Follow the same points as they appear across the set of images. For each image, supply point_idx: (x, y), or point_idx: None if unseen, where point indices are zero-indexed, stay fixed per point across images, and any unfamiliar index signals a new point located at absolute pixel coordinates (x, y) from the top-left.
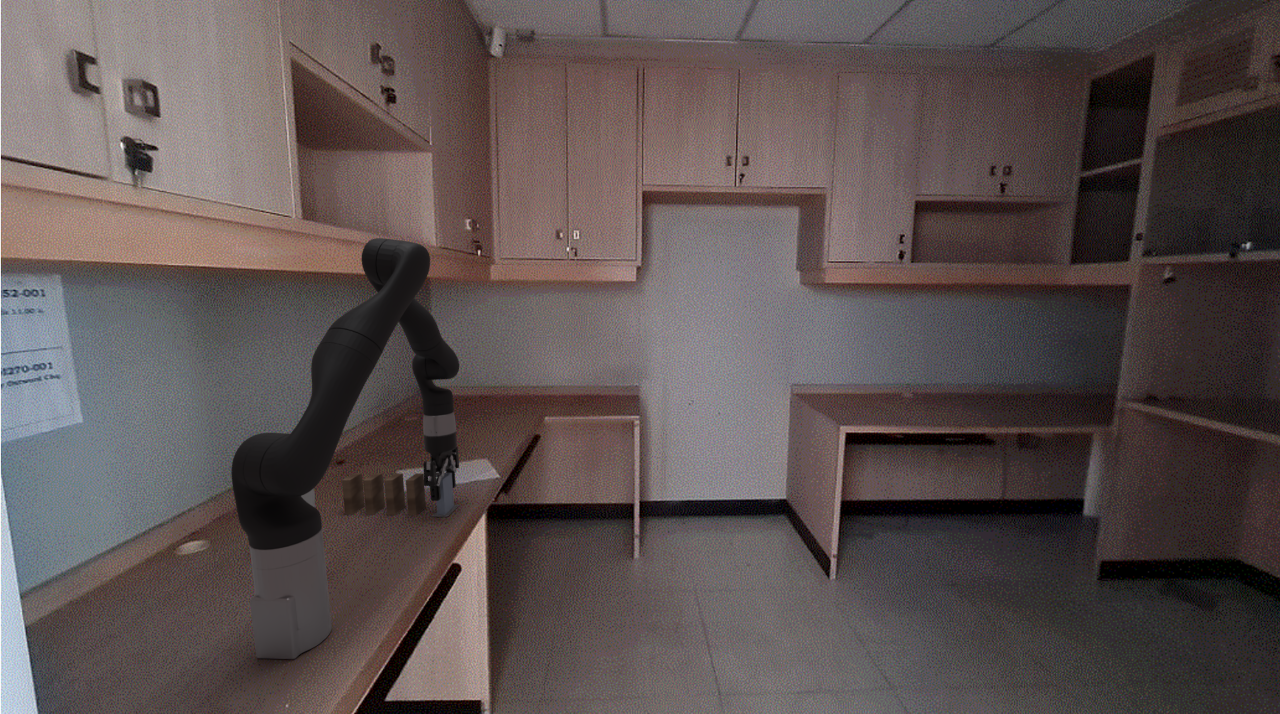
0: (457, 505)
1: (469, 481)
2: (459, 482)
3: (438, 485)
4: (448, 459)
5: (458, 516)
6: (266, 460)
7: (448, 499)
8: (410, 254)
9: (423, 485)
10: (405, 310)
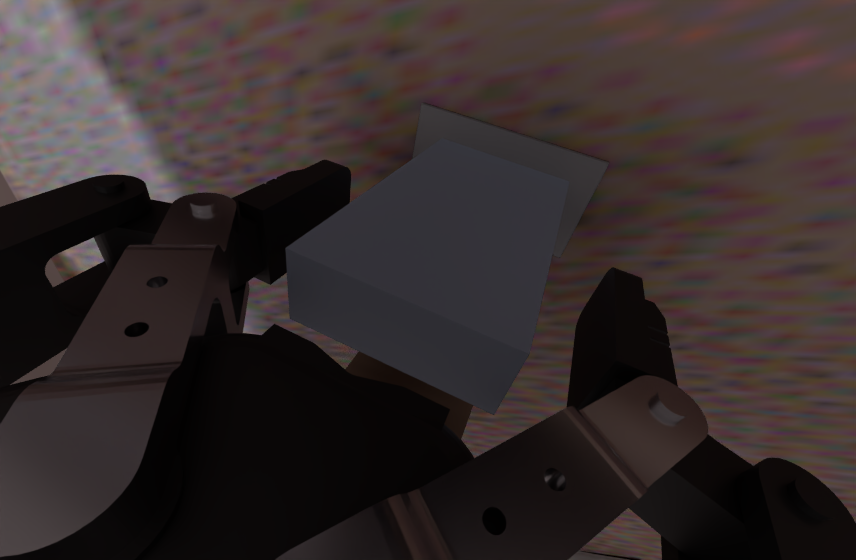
0: (433, 114)
1: (118, 96)
2: (144, 149)
3: (679, 393)
4: (157, 486)
5: (635, 73)
6: None
7: (490, 189)
8: None
9: (359, 368)
10: None
